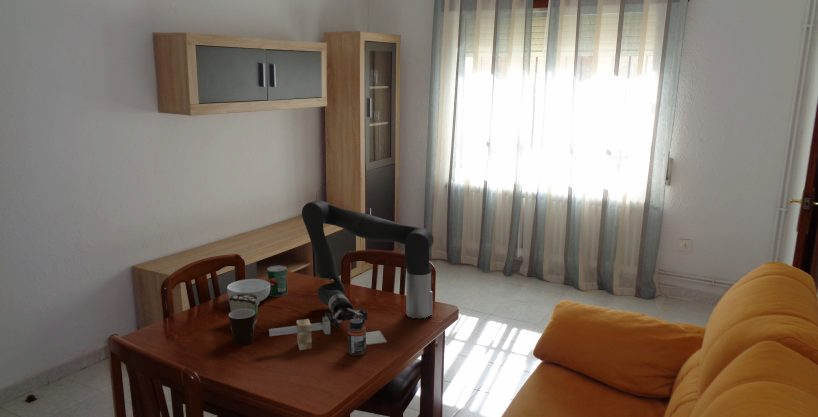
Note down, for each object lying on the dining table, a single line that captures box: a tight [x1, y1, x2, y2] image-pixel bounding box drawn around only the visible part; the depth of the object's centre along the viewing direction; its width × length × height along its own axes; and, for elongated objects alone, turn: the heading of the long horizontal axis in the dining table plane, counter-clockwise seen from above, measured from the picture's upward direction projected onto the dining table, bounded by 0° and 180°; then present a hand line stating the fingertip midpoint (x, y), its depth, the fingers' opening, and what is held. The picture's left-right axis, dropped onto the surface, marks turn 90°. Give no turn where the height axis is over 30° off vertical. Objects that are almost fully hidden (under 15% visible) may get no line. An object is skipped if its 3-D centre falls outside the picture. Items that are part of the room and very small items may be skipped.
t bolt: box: [268, 316, 331, 337], centre depth 198 cm, size 20×4×4 cm, turn 109°
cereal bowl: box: [226, 278, 270, 302], centre depth 239 cm, size 17×17×7 cm
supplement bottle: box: [347, 317, 367, 357], centre depth 195 cm, size 6×6×11 cm
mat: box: [366, 330, 387, 346], centre depth 206 cm, size 9×9×1 cm
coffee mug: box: [228, 309, 255, 346], centre depth 204 cm, size 12×9×10 cm
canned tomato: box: [266, 264, 289, 298], centre depth 248 cm, size 8×8×11 cm
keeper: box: [296, 318, 313, 351], centre depth 199 cm, size 4×5×9 cm
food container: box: [227, 293, 260, 327], centre depth 220 cm, size 12×6×10 cm, turn 71°
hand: (350, 324), depth 202 cm, fingers open, 8 cm apart
